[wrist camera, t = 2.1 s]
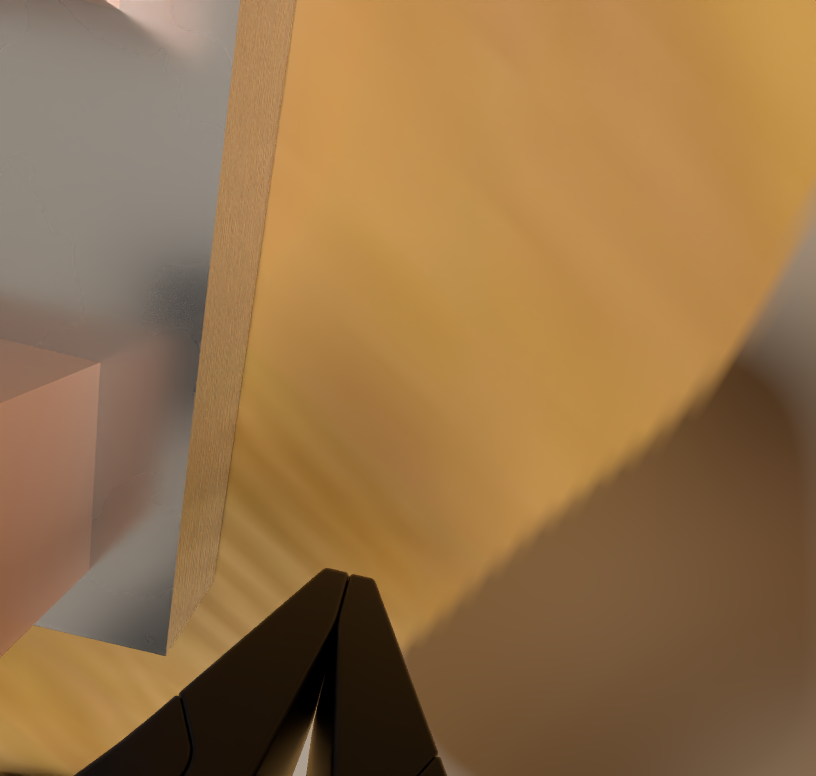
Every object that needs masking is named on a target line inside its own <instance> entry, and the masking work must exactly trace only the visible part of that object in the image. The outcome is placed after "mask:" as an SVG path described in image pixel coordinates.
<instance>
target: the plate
mask: <svg viewBox="0 0 816 776" xmlns="http://www.w3.org/2000/svg"><path fill="white" fill-rule="evenodd" d="M295 2H296V0H120V3H119V9H115V8H111V7H107V6H103V5H99V4H95V3H91V2H87V1H83V0H0V339H4V340H9V341H13V342H17V343H21V344H25V345H29V346H34V347H38V348H42V349H46V350H50V351H54V352H59V353H63V354H67V355H71V356H75V357H79V358H84V359H88V360H92V361H96V362H100V377H99V396H98V415H97V434H96V452H95V471H94V490H93V508H92V527H91V546H90V565H89V571H88V572H87V573H86V574H85V575H84V576H83V577H82V578H81V579H80V580H79V581H78V582H77V583H76V584H75V585H74V586H73V587H72V588H70V589H69V590H68V591H67V592H66V593H65V594H64V595H63V596H62V597H61V598H60V599H59V600H58V601H57V602H56V603H55V604H54V605H53V606H52V607H51V608H50V609H49V610H48V611H47V612H46V613H45V614H44V615H43V616H42V617H41V618H40V619H39V620H38V621H37V622H36V623H35V624H34V625H35V626H39V627H44V628H48V629H52V630H57V631H61V632H65V633H69V634H74V635H78V636H82V637H86V638H91V639H95V640H99V641H103V642H108V643H112V644H116V645H121V646H125V647H129V648H133V649H138V650H142V651H146V652H150V653H155V654H159V655H163V656H166V655H167V653H168V651H169V650H170V648H171V647H172V645H173V644H174V642H175V640H176V639H177V637H178V636H179V634H180V633H181V631H182V630H183V628H184V626H185V625H186V623H187V622H188V620H189V619H190V617H191V615H192V614H193V612H194V611H195V609H196V608H197V606H198V604H199V603H200V601H201V600H202V598H203V597H204V595H205V594H206V592H207V590H208V589H209V587H210V586H211V584H212V583H213V581H214V575H215V568H216V561H217V553H218V546H219V539H220V532H221V525H222V518H223V511H224V504H225V497H226V490H227V483H228V476H229V469H230V461H231V454H232V447H233V440H234V433H235V426H236V419H237V412H238V405H239V398H240V391H241V384H242V377H243V369H244V362H245V355H246V348H247V341H248V334H249V327H250V320H251V313H252V306H253V299H254V292H255V285H256V277H257V270H258V263H259V256H260V249H261V242H262V235H263V228H264V221H265V214H266V207H267V200H268V193H269V186H270V178H271V171H272V164H273V157H274V150H275V143H276V136H277V129H278V122H279V115H280V108H281V101H282V94H283V86H284V79H285V72H286V65H287V58H288V51H289V44H290V37H291V30H292V23H293V16H294V9H295Z"/></svg>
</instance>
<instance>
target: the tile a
mask: <svg viewBox="0 0 816 776" xmlns="http://www.w3.org/2000/svg"><path fill="white" fill-rule="evenodd" d="M99 377H100V362H96V361H92V360H88V359H84V358H79V357H75V356H71V355H67V354H63V353H59V352H54V351H50V350H46V349H42V348H38V347H34V346H29V345H25V344H21V343H17V342H13V341H9V340H4V339H0V657H1V656H2V655H3V654H4V653H5V652H6V651H7V650H8V649H9V648H10V647H11V646H12V645H13V644H14V643H16V642H17V641H18V640H19V639H20V638H21V637H22V636H23V635H24V634H25V633H26V632H27V631H28V630H29V629H30V628H31V627H32V626H33V625H34V624H35V623H36V622H37V621H38V620H39V619H40V618H41V617H42V616H43V615H44V614H45V613H46V612H47V611H48V610H49V609H50V608H51V607H52V606H53V605H54V604H55V603H56V602H57V601H58V600H59V599H60V598H61V597H62V596H63V595H64V594H65V593H66V592H67V591H68V590H69V589H70V588H72V587H73V586H74V585H75V584H76V583H77V582H78V581H79V580H80V579H81V578H82V577H83V576H84V575H85V574H86V573H87V572H88V571H89V565H90V546H91V527H92V508H93V490H94V471H95V452H96V434H97V415H98V396H99Z"/></svg>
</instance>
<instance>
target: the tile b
mask: <svg viewBox="0 0 816 776" xmlns="http://www.w3.org/2000/svg"><path fill="white" fill-rule="evenodd" d="M83 1H87V2H91V3H95V4H99V5H103V6H107V7H111V8H115V9H119V3H120V0H83Z"/></svg>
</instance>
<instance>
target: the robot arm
mask: <svg viewBox="0 0 816 776" xmlns="http://www.w3.org/2000/svg"><path fill="white" fill-rule="evenodd" d="M348 578H349V579H348ZM319 696H320V697H319ZM318 700H319V701H318ZM317 704H318V705H317ZM316 707H317V710H316ZM315 711H316V714H315ZM314 714H315V719H314V724H313V730H312V737H311V744H310V751H309V759H308V767H307V774H306V776H447V774H446V771H445V769H444V766H443V763H442V760H441V758H440V757H438V750H437V747H436V745H435V742H434V739H433V736H432V734H431V731H430V729H429V726H428V723H427V720H426V718H425V715H424V712H423V710H422V707H421V704H420V701H419V699H418V696H417V693H416V691H415V688H414V685H413V683H412V680H411V677H410V674H409V672H408V669H407V666H406V664H405V661H404V658H403V655H402V653H401V650H400V647H399V645H398V642H397V639H396V636H395V634H394V631H393V628H392V626H391V623H390V620H389V617H388V615H387V612H386V609H385V607H384V604H383V601H382V599H381V596H380V593H379V590H378V588H377V585H376V583H375V581H374V580H373V579H372V578H368V577H364V576H359V575H355V574H352V575H351V576H350V577H349V576H348V574H347V573H346V572H343V571H338V570H334V569H330V568H325V569H323V570H322V571H321V572H319V573H318V574H317V575H316V576H315V577H314V578H312V579H311V580H310V581H309V582H308V583H307V584H305V585H304V586H303V587H302V588H301V589H300V590H298V591H297V592H296V593H295V594H294V595H293V596H291V597H290V598H289V599H288V600H287V601H286V602H284V603H283V604H282V605H281V606H280V607H279V608H278V609H276V610H275V611H274V612H273V613H272V614H271V615H269V616H268V617H267V618H266V619H265V620H264V621H262V622H261V623H260V624H259V625H258V626H257V627H255V628H254V629H253V630H252V631H251V632H250V633H248V634H247V635H246V636H245V637H244V638H243V639H241V640H240V641H239V642H238V643H237V644H236V645H234V646H233V647H232V648H231V649H230V650H229V651H227V652H226V653H225V654H224V655H223V656H222V657H220V658H219V659H218V660H217V661H216V662H215V663H213V664H212V665H211V666H210V667H209V668H208V669H206V670H205V671H204V672H203V673H202V674H201V675H199V676H198V677H197V678H196V679H195V680H194V681H192V682H191V683H190V684H189V685H188V686H187V687H185V688H184V689H183V690H182V691H181V692H180V693H179V696H175V697H173V698H172V699H171V700H170V701H169V702H167V703H166V704H165V705H164V706H163V707H162V708H161V709H159V710H158V711H157V712H156V713H155V714H154V715H152V716H151V717H150V718H149V719H147V720H146V721H145V722H144V723H143V724H141V725H140V726H139V727H138V728H136V729H135V730H134V731H133V732H131V733H130V734H129V735H128V736H126V737H125V738H124V739H123V740H122V741H120V742H119V743H118V744H117V745H115V746H114V747H112V748H111V749H110V750H108V751H107V752H106V753H104V754H103V755H101V756H100V757H99V758H97V759H96V760H95V761H93V762H92V763H90V764H89V765H88V766H86V767H85V768H84V769H82V770H81V771H79V772H78V773H77V774H75V775H74V776H292V775H293V772H294V770H295V767H296V765H297V762H298V759H299V757H300V754H301V751H302V749H303V746H304V744H305V741H306V738H307V735H308V733H309V730H310V727H311V724H312V721H313V718H314Z"/></svg>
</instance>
